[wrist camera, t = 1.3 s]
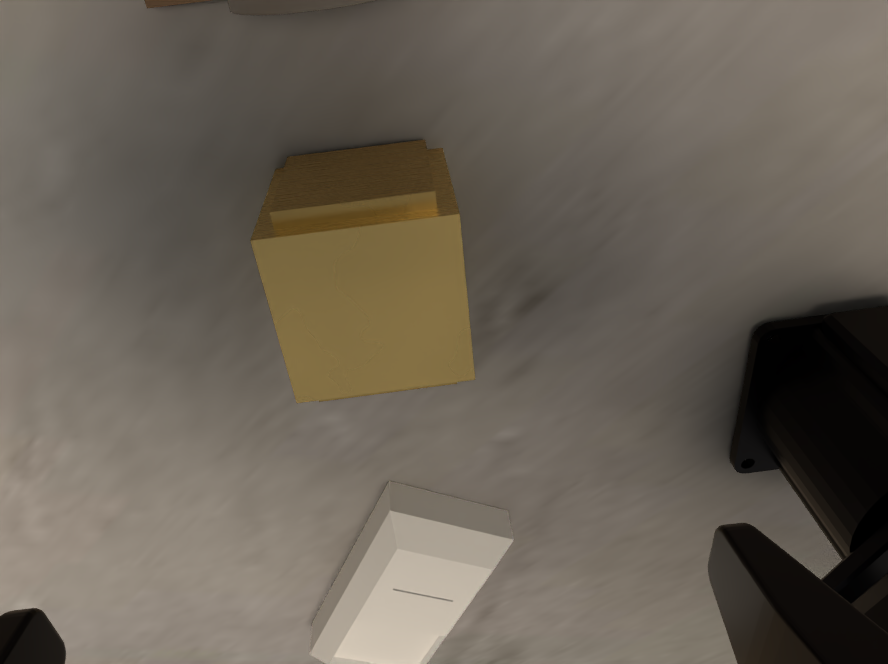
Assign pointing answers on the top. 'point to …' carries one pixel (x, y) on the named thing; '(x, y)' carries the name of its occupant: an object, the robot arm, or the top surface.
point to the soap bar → (408, 577)
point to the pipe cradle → (267, 5)
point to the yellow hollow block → (366, 271)
